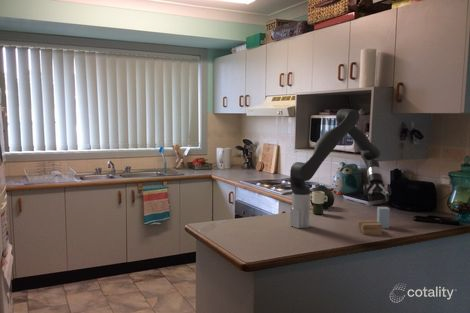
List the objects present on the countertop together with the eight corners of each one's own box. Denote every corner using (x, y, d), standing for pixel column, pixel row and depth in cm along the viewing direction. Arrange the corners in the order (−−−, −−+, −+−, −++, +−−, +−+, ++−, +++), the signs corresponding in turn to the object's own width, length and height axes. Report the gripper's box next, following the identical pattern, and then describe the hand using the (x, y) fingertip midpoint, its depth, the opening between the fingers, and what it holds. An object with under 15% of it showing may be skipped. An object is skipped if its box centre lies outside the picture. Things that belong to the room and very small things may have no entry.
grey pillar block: (389, 228, 210) (389, 209, 209) (379, 228, 211) (379, 208, 210) (386, 225, 215) (387, 207, 214) (376, 225, 216) (377, 206, 215)
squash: (324, 203, 246) (332, 182, 253) (303, 200, 256) (311, 181, 263) (333, 215, 255) (340, 195, 262) (312, 212, 265) (319, 193, 271)
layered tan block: (381, 234, 199) (382, 224, 198) (363, 235, 199) (363, 224, 198) (375, 230, 208) (375, 220, 207) (357, 230, 208) (357, 220, 207)
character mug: (328, 213, 242) (329, 192, 241) (325, 216, 236) (325, 193, 235) (311, 211, 247) (311, 190, 246) (307, 214, 241) (307, 192, 240)
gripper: (362, 172, 228) (367, 196, 218) (389, 172, 227) (394, 197, 217) (360, 180, 234) (364, 204, 224) (386, 180, 233) (391, 204, 222)
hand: (379, 200), depth 220 cm, fingers open, 8 cm apart
